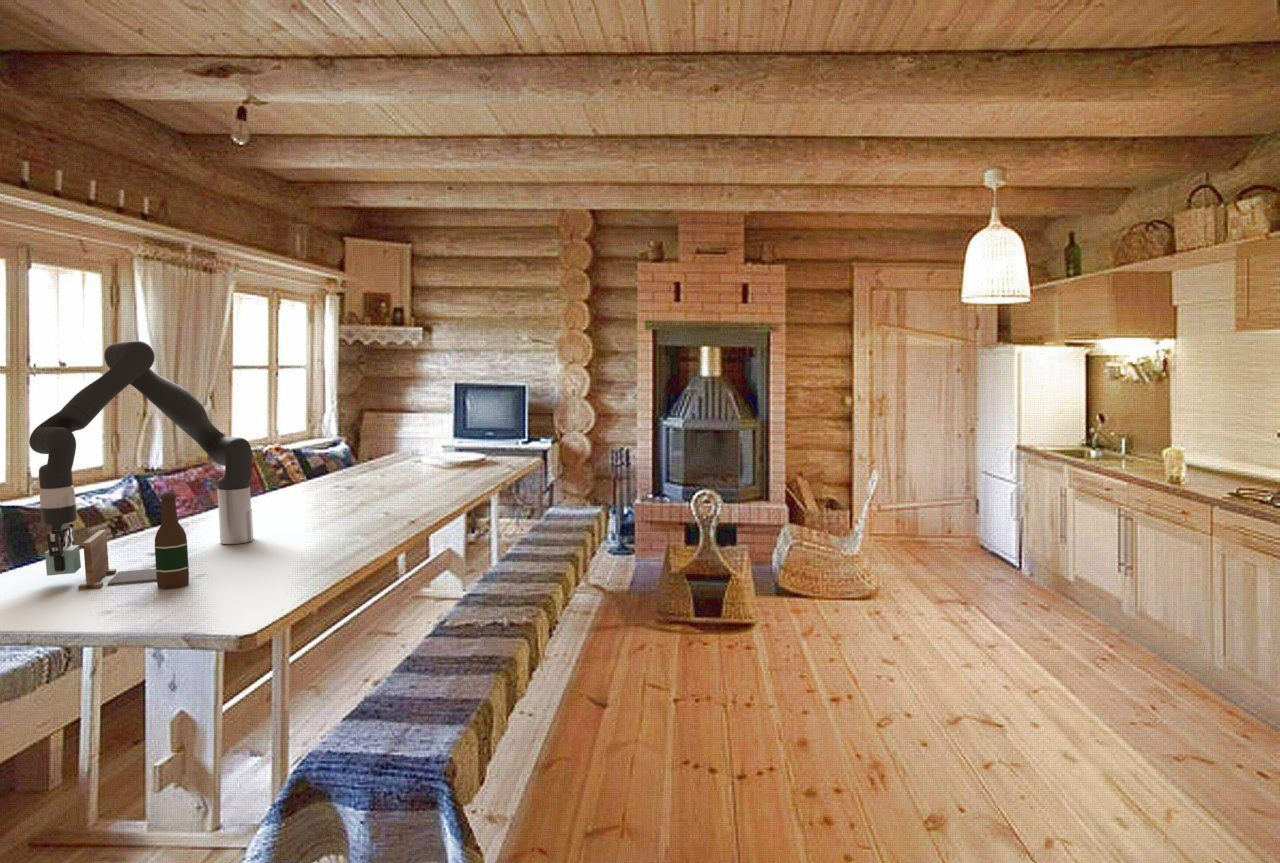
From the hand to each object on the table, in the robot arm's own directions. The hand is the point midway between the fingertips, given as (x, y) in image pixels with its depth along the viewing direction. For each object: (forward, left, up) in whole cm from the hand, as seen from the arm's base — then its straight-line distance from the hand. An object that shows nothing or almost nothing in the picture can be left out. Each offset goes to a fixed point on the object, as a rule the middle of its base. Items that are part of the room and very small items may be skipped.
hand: (63, 567), depth 217 cm
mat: (-17, -1, -4) cm, 17 cm away
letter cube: (0, 0, -1) cm, 1 cm away
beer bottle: (-27, +11, -5) cm, 29 cm away
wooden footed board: (-7, -1, -4) cm, 9 cm away
